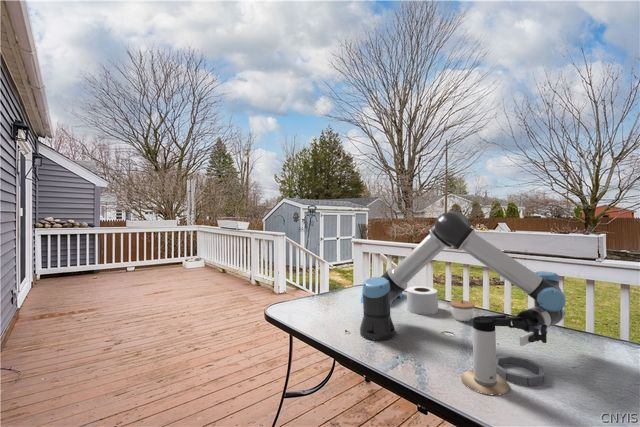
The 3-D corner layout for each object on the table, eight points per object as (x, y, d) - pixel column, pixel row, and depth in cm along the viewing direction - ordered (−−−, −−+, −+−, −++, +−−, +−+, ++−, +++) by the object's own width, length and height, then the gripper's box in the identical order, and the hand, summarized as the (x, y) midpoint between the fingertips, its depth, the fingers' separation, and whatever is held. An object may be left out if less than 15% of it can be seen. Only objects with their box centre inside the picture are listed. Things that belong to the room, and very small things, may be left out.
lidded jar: (446, 316, 155) (445, 297, 155) (466, 314, 156) (466, 296, 156) (457, 324, 144) (457, 304, 144) (479, 322, 145) (479, 302, 145)
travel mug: (498, 389, 92) (497, 322, 92) (473, 384, 95) (472, 319, 95) (497, 378, 98) (496, 315, 98) (473, 374, 101) (472, 312, 101)
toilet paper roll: (440, 307, 168) (440, 287, 168) (434, 316, 155) (433, 295, 155) (411, 303, 177) (411, 284, 176) (403, 311, 163) (402, 291, 163)
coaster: (480, 398, 89) (480, 396, 89) (452, 374, 102) (452, 372, 102) (519, 391, 92) (519, 389, 92) (487, 369, 105) (487, 367, 105)
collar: (516, 388, 94) (516, 380, 94) (484, 365, 107) (484, 358, 107) (555, 382, 96) (554, 374, 96) (519, 360, 110) (519, 353, 109)
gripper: (575, 342, 101) (542, 361, 90) (498, 320, 122) (464, 332, 112) (575, 319, 100) (541, 335, 90) (498, 301, 122) (463, 311, 111)
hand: (498, 333), depth 101 cm, fingers open, 13 cm apart
